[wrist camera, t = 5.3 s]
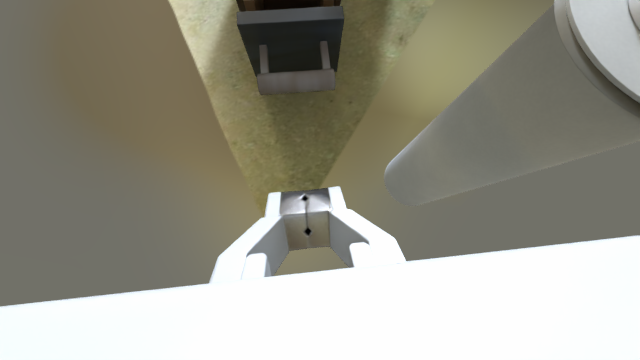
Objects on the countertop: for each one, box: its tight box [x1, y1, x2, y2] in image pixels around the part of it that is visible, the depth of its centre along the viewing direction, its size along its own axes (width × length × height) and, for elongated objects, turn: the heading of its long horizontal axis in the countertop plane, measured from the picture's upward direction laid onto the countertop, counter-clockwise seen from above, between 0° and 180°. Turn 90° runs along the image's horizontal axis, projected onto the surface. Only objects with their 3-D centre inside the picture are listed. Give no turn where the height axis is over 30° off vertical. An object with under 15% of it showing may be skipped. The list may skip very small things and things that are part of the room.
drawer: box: [237, 0, 344, 95], centre depth 22 cm, size 15×8×6 cm, turn 6°
